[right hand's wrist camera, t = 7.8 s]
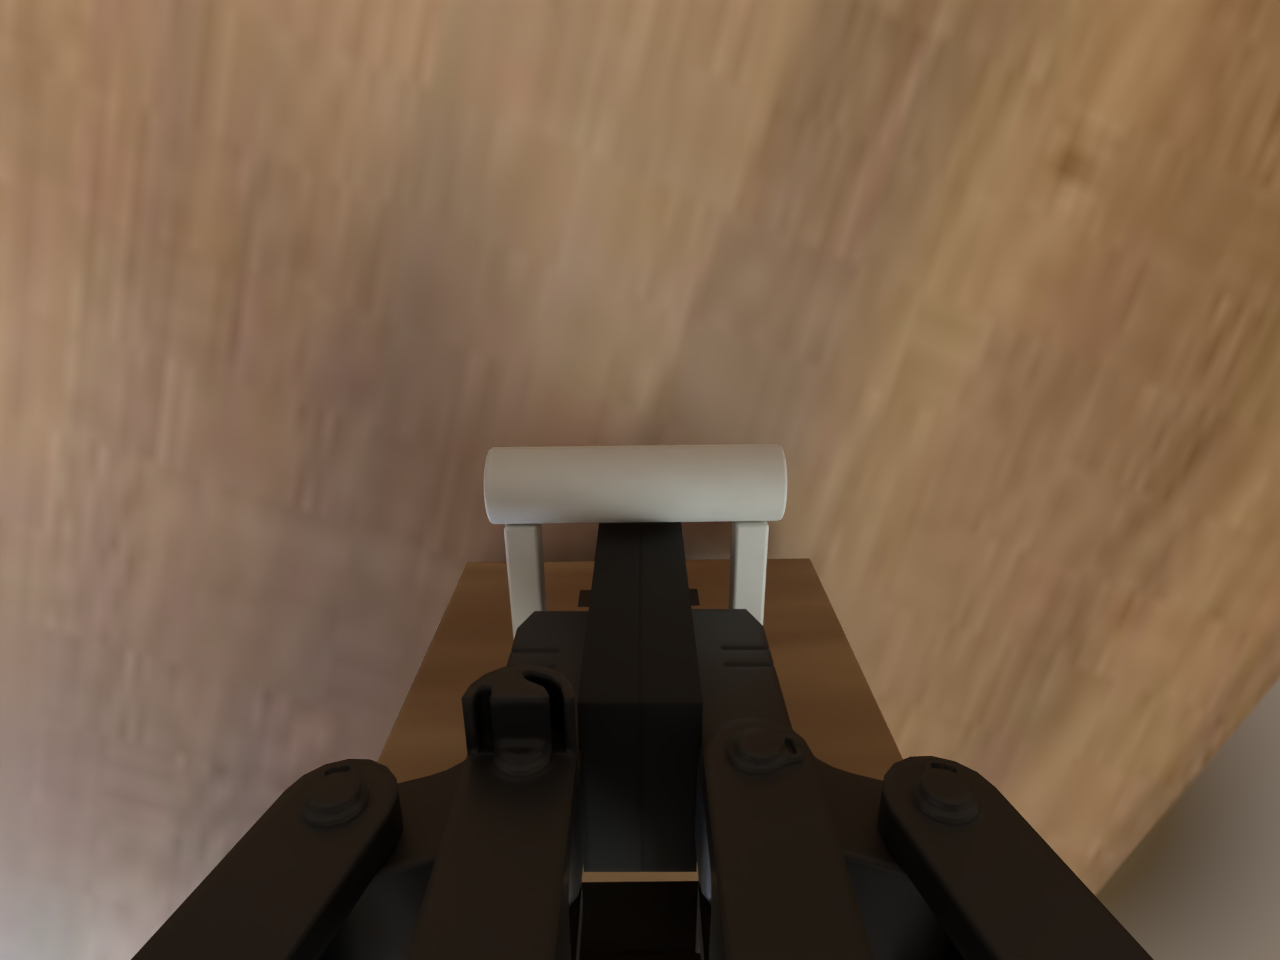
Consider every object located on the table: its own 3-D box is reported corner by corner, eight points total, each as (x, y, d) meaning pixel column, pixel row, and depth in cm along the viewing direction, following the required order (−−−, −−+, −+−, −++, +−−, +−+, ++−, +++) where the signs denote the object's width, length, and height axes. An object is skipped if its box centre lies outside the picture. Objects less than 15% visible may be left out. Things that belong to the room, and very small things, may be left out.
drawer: (444, 364, 19) (276, 520, 10) (827, 360, 19) (993, 513, 10) (508, 935, 27) (444, 1306, 18) (779, 932, 27) (849, 1302, 18)
